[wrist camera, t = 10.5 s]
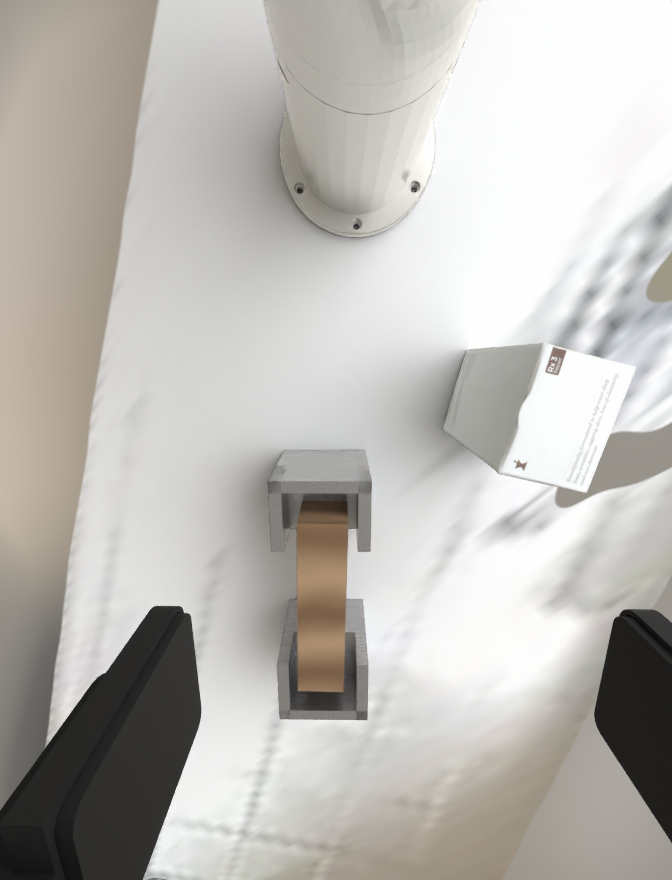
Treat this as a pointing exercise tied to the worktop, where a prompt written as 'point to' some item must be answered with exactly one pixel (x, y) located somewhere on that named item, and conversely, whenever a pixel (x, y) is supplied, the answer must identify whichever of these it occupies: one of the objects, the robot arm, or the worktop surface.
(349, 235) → the robot arm
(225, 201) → the worktop surface
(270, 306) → the worktop surface
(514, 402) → the skincare box
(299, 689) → the walnut rail
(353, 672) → the brackets
